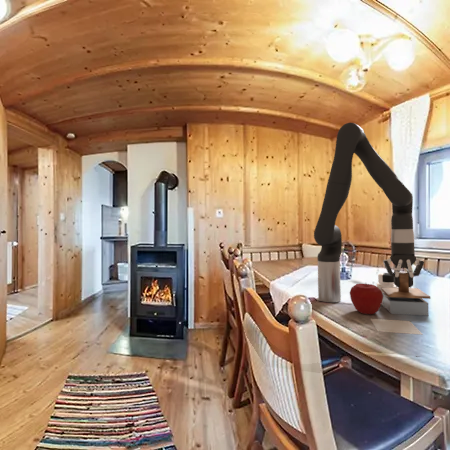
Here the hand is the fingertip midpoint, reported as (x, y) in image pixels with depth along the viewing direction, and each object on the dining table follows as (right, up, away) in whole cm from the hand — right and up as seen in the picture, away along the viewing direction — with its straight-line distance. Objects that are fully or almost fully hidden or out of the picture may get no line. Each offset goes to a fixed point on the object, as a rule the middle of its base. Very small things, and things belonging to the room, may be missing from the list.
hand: (403, 286), depth 110 cm
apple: (-15, -10, -2) cm, 18 cm away
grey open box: (0, -9, 0) cm, 9 cm away
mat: (-13, -10, -17) cm, 23 cm away
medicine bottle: (+1, -9, +13) cm, 16 cm away
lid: (0, -3, 0) cm, 3 cm away
